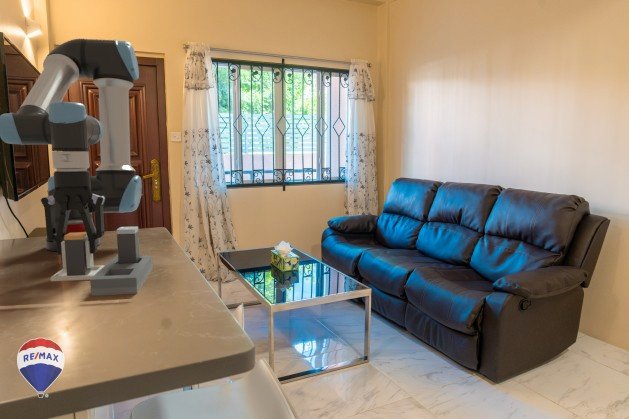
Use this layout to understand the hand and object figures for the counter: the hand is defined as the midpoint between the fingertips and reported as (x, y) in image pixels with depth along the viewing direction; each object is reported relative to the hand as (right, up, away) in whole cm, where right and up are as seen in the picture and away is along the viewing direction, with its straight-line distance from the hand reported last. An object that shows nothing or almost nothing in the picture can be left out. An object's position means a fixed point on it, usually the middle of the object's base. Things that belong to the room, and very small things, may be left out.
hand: (78, 266), depth 106 cm
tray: (0, -2, 0) cm, 2 cm away
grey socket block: (+13, -3, -4) cm, 14 cm away
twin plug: (+12, -1, 0) cm, 12 cm away
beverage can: (-6, -1, +10) cm, 12 cm away
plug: (0, -2, 0) cm, 2 cm away
